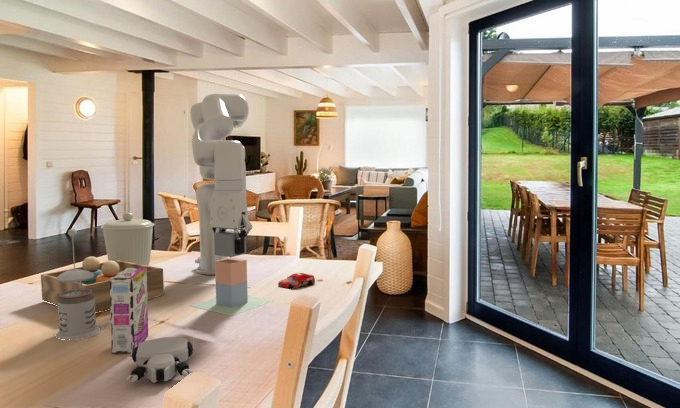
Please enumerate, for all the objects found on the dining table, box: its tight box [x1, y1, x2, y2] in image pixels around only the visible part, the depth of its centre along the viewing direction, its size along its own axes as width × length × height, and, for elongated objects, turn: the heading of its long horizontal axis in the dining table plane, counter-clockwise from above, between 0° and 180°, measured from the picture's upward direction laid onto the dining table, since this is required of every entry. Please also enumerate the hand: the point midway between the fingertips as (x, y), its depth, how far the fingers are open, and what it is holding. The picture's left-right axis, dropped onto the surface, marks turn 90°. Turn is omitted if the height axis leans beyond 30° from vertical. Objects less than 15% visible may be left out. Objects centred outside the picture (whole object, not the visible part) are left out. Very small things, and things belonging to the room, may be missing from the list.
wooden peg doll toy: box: [81, 256, 120, 285], centre depth 152 cm, size 18×17×12 cm
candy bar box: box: [110, 268, 149, 354], centre depth 115 cm, size 11×5×16 cm, turn 5°
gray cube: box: [214, 229, 247, 258], centre depth 141 cm, size 6×6×6 cm
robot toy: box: [126, 336, 196, 383], centre depth 101 cm, size 12×4×15 cm
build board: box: [189, 295, 273, 317], centre depth 142 cm, size 16×16×1 cm
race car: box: [277, 272, 316, 291], centre depth 165 cm, size 13×5×4 cm, turn 132°
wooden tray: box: [40, 260, 165, 313], centre depth 151 cm, size 23×24×8 cm
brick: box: [214, 257, 248, 286], centre depth 141 cm, size 6×6×6 cm
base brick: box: [215, 280, 249, 308], centre depth 142 cm, size 6×6×6 cm
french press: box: [55, 228, 101, 341], centre depth 122 cm, size 10×12×25 cm
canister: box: [100, 211, 156, 266], centre depth 188 cm, size 18×18×21 cm
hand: (230, 251), depth 141 cm, fingers closed on gray cube, 6 cm apart
